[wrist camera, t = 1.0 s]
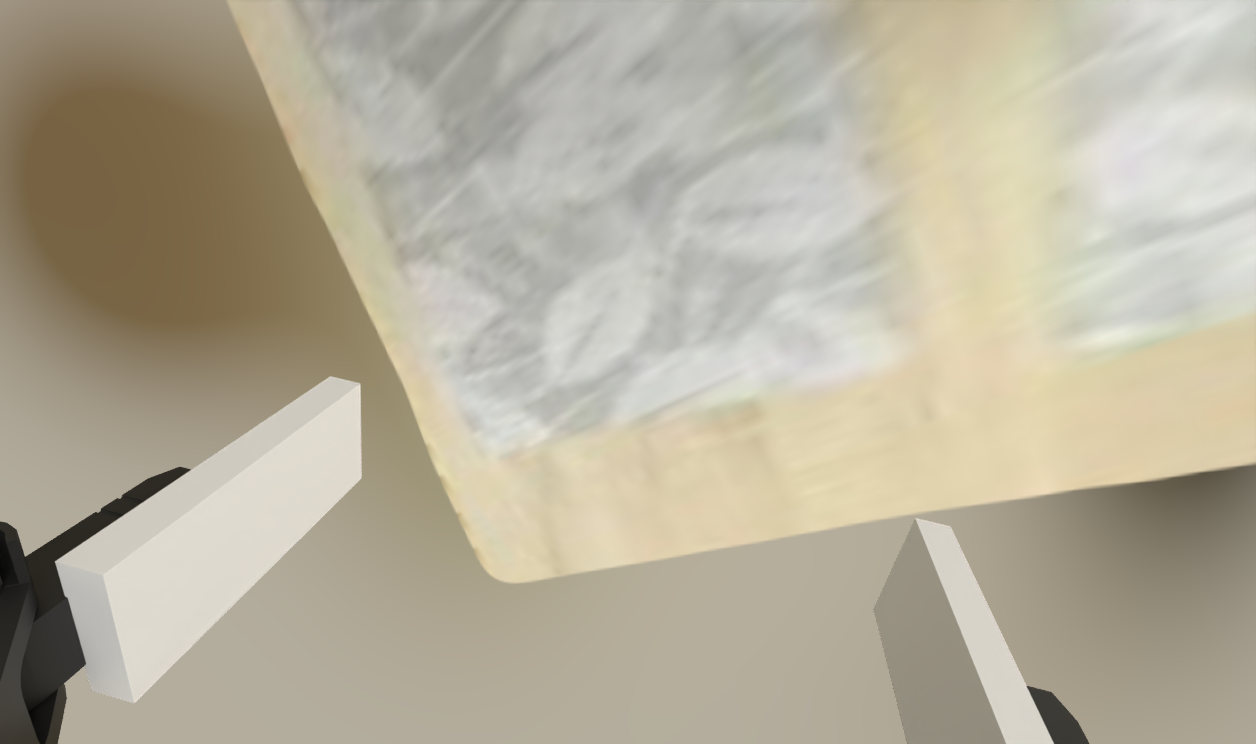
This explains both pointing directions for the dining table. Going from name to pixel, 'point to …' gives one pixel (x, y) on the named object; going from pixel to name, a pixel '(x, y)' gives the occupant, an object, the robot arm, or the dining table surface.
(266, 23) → the dining table surface
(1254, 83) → the dining table surface
